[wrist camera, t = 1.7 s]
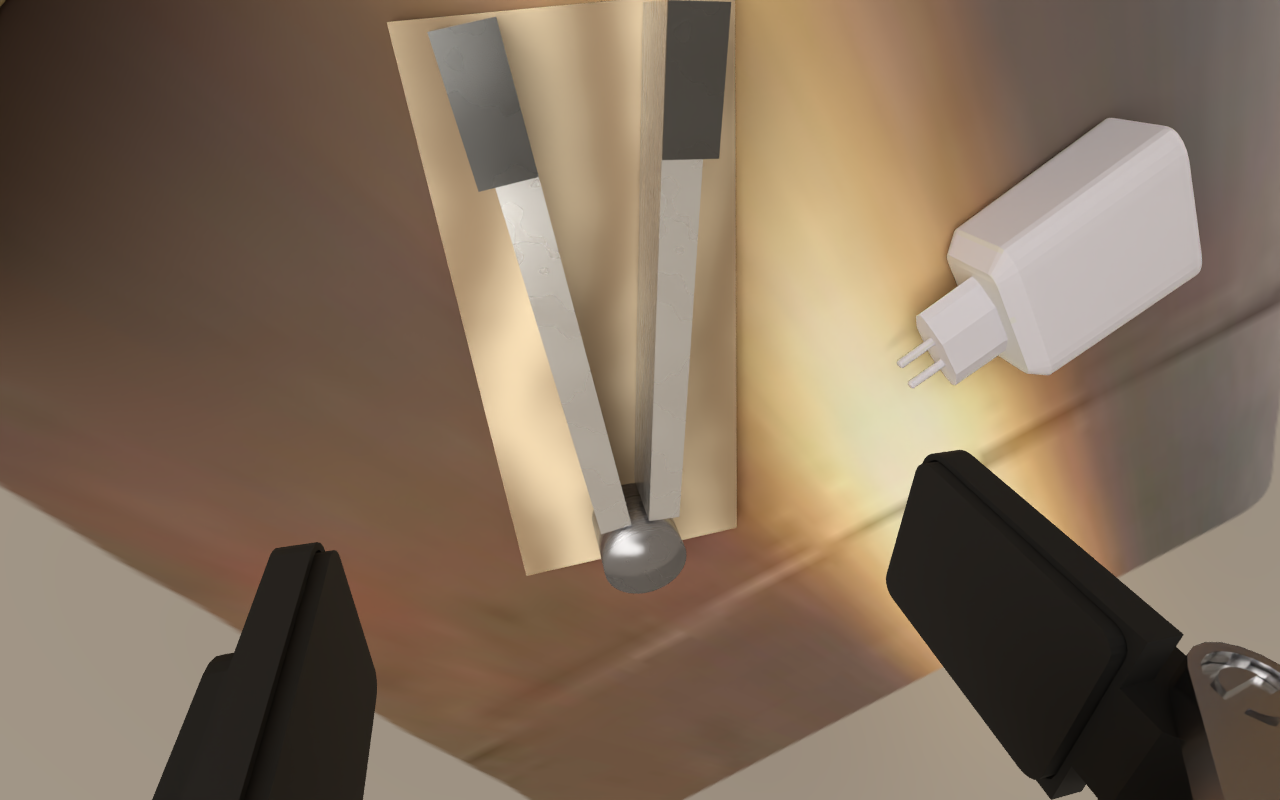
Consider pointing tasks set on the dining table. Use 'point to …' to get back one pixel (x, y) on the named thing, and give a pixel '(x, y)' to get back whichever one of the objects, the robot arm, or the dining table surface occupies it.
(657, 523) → the tongs hinge pin
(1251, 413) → the dining table surface
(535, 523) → the oak board
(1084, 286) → the charger
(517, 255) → the tongs leg
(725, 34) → the tongs leg
